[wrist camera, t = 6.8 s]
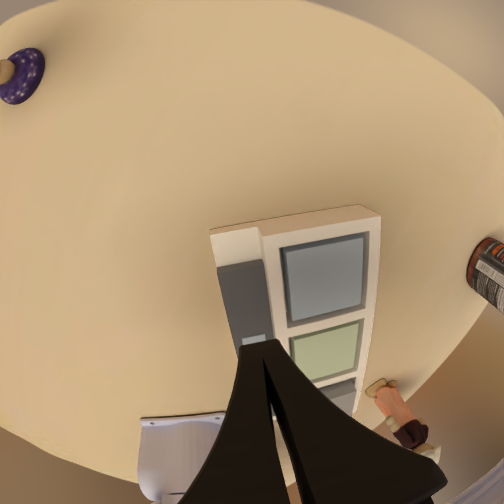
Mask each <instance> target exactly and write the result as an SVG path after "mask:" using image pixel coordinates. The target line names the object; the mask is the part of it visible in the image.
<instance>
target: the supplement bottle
mask: <svg viewBox="0 0 504 504" xmlns="http://www.w3.org/2000/svg"><path fill="white" fill-rule="evenodd" d="M467 278H468V283H469V285H470V287H471V288H473V289H474V290H475V291H476V292H477V293H479V294H480V295H481V296H482V297H483V298H485V299H486V300H487V301H488V302H490V303H491V304H492V305H493V306H495V307H496V308H497V309H498V310H499V311H500V312H502V313H503V314H504V244H503V243H501V242H499V241H497V240H495V239H492V238H489V239H486V240H484V241H483V242H482V243H481V244H480V245H479V246H478V247H477V249H476V250H475V252H474V254H473V256H472V258H471V260H470V264H469V267H468V273H467Z"/></svg>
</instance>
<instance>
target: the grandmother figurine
mask: <svg viewBox="0 0 504 504" xmlns="http://www.w3.org/2000/svg"><path fill="white" fill-rule="evenodd" d="M386 384H387V381H386V380H385V379H381V380H379V381H377V382H376V383H374V384H373V385H372V386H370V387H369V388H368V389H367V390H366V392H365V393H366V395H367V396H369V397H375V396H377V398H376V399H375V404H376V405H377V406H378V408H379V409H380V410H381V412H382V413H383V414H384V415H385V417H386V419H385V422H386V424H388V425H389V428H390V429H391V431H392V433H393V435H394V436H395V437H396V438H397V439H398V440H399V441H400V443H401V445H402V446H403V447H404V448H408V449H411V450H412V451H413V452H415V453H418V454H421V455H423V456H426V457H429V458H431V459H433V460H434V462H435V463H436V464H438V462H439V458H440V452H441V445H436V446H435V447H432V446H431V445H429V444H427V443H425V441H426V439H427V437H428V427H427V425H426V423H425V421H424V419H423V418H419V419H418V420H417V419H415V418H414V416H413V415H412V414H411V412H410V411H409V409H408V407H407V406H406V405H405V403H404V401H403V399H402V397H401V395H400V393H399V392H398V390H397V389H396V386H397V381H391V382H389V383H388V384H387V385H386Z"/></svg>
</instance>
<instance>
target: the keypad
mask: <svg viewBox="0 0 504 504" xmlns="http://www.w3.org/2000/svg"><path fill="white" fill-rule="evenodd" d="M355 233H358V234H359V235H360V236H362V237H363V267H362V287H361V302H360V304H358V305H355V306H351V307H347V308H344V309H340V310H336V311H332V312H328V313H324V314H320V315H316V316H312V317H308V318H304V319H299V320H295V321H292V319H291V316H290V314H289V312H288V309H287V300H286V290H285V280H284V271H283V261H282V252H281V247H286V246H291V245H297V244H302V243H307V242H313V241H318V240H323V239H328V238H334V237H339V236H344V235H350V234H355ZM380 234H381V216H380V215H378V214H376V213H374V212H373V211H371V210H369V209H367V208H365V207H363V206H361V205H352V206H346V207H339V208H333V209H326V210H320V211H314V212H307V213H301V214H295V215H289V216H283V217H278V218H272V219H266V220H260V221H255V222H249V223H244V224H238V225H233V226H227V227H222V228H217V229H212V230H210V238H211V243H212V248H213V252H214V257H215V262H216V266H217V275H218V280H219V284H220V288H221V293H222V297H223V301H224V305H225V309H226V314H227V318H228V322H229V326H230V330H231V334H232V338H233V342H234V346H235V350H236V354H237V357H239V347H240V346H241V345H246V344H251V343H256V342H261V341H266V340H271V339H275V338H276V339H278V340H279V341H280V343H281V344H282V346H283V347H284V349H285V351H286V352H287V353H288V355H289V356H290V358H291V359H292V357H291V345H290V337H293V336H298V335H302V334H306V333H310V332H314V331H318V330H322V329H326V328H330V327H333V326H337V325H341V324H344V323H348V322H351V321H355V320H357V322H358V323H359V324H358V334H357V343H356V351H355V359H354V366H353V368H350V369H347V370H344V371H341V372H337V373H334V374H331V375H327V376H324V377H320V378H316V379H313V380H310V381H311V382H312V383H313V384H314V385H315V386H316V387H317V388H318V389H321V388H324V387H328V386H331V385H334V384H338V383H341V382H344V381H347V380H350V379H351V381H352V382H353V384H354V386H355V388H356V390H357V393H356V397H355V402H354V407H353V411H352V413H355V412H356V410H357V406H358V402H359V398H360V394H361V389H362V384H363V380H364V375H365V370H366V365H367V359H368V353H369V348H370V341H371V335H372V328H373V321H374V313H375V304H376V295H377V284H378V272H379V257H380ZM271 409H272V417H273V420H277V419H276V416H275V413H274V411H273V408H272V405H271Z"/></svg>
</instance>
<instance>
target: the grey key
mask: <svg viewBox="0 0 504 504" xmlns="http://www.w3.org/2000/svg"><path fill="white" fill-rule="evenodd" d="M319 390H320V391H321V392H322V393H323V394H324V395H325V396H326V397H327V398H328V399H330V400H331V401H332V402H333V403H334V404H335V405H336V406H338V407H339V408H340V409H341V410H343V411H344V412H345V413H347V414H348V415H349V416H351V415H352V411H353V407H354V402H355V397H356V393H357V390H356V388H355V386H354V384H353V382H352V381H351V379H350V380H347V381H344V382H341V383H338V384H334V385H331V386H328V387H324V388H321V389H319Z"/></svg>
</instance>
